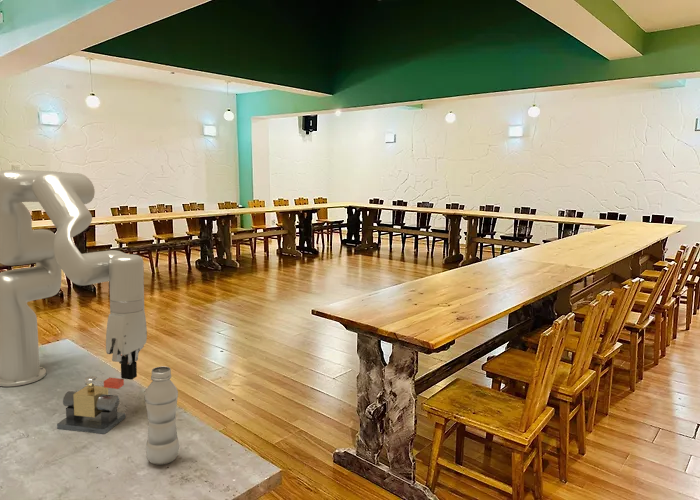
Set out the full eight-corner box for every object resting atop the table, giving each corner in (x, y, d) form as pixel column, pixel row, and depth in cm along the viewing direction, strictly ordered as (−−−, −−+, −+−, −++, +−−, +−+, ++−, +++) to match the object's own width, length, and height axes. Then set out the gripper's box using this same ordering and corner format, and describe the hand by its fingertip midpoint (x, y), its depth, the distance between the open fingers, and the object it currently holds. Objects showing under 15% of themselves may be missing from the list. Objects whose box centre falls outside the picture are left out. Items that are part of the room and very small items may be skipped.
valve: (57, 428, 113) (55, 388, 112) (80, 412, 121) (79, 375, 119) (104, 434, 111) (103, 393, 110) (125, 417, 119) (124, 379, 118)
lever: (82, 385, 114) (82, 379, 113) (89, 381, 116) (89, 375, 116) (117, 389, 112) (117, 382, 112) (124, 384, 115) (123, 378, 114)
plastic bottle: (168, 471, 98) (167, 377, 96) (138, 466, 100) (136, 373, 97) (185, 454, 105) (184, 365, 102) (157, 449, 106) (155, 362, 103)
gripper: (132, 297, 125) (133, 365, 128) (91, 312, 111) (94, 388, 113) (158, 299, 124) (159, 368, 126) (121, 315, 109) (123, 392, 112)
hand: (129, 377), depth 120 cm, fingers closed
